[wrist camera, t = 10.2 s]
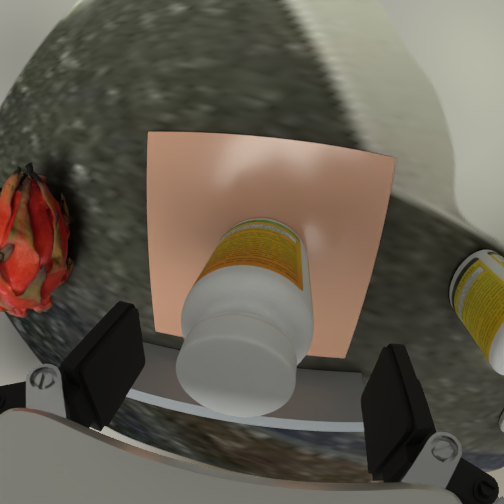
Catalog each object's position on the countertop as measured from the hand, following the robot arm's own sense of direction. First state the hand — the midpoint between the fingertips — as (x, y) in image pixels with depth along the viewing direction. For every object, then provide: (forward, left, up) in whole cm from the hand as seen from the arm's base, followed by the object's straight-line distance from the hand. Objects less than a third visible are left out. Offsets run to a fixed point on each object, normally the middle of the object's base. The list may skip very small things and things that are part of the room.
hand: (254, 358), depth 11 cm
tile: (+1, 0, -9) cm, 9 cm away
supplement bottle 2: (-15, 0, -9) cm, 18 cm away
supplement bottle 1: (+1, 0, -8) cm, 8 cm away
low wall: (+1, +9, -9) cm, 13 cm away
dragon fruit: (+17, 0, -9) cm, 19 cm away
